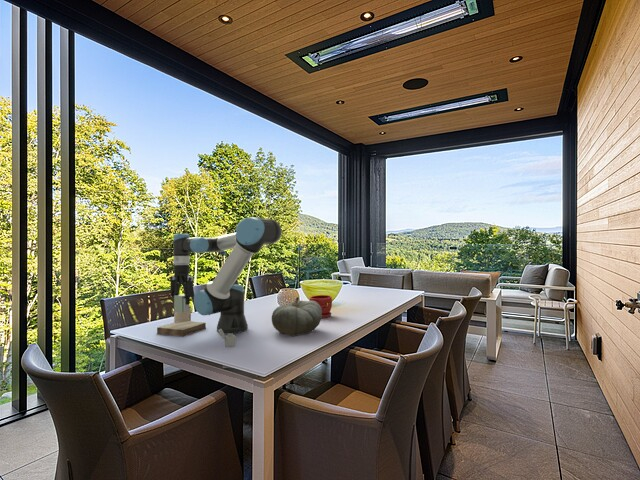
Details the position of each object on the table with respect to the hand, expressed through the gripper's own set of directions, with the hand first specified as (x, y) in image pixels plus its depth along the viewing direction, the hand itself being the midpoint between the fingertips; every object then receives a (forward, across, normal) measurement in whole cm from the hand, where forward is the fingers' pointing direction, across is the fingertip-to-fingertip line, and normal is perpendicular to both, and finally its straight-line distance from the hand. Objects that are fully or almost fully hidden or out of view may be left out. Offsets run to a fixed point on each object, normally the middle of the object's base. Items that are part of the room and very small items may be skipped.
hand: (181, 310), depth 173 cm
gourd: (+10, +56, +16) cm, 59 cm away
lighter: (+10, +38, -15) cm, 42 cm away
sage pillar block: (0, 0, 0) cm, 0 cm away
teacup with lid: (+11, -15, +16) cm, 24 cm away
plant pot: (+10, +54, +54) cm, 77 cm away
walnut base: (+10, 0, 0) cm, 10 cm away
